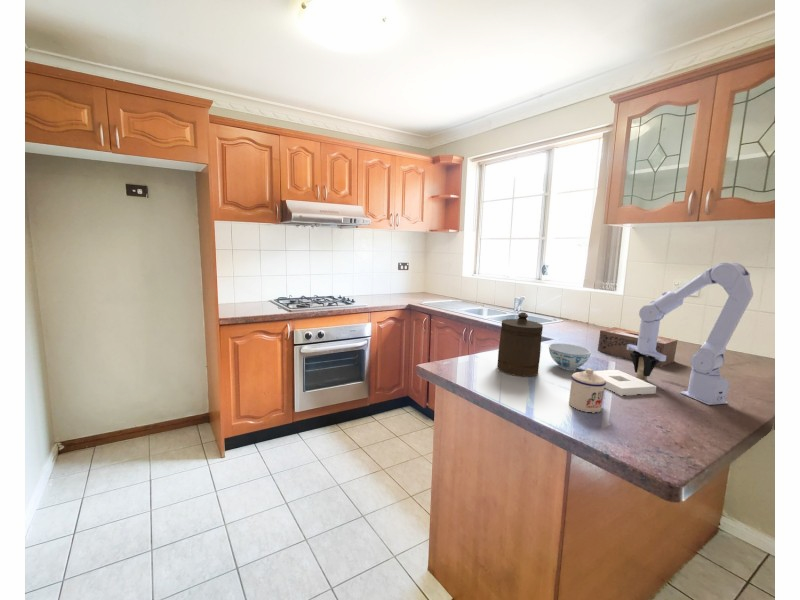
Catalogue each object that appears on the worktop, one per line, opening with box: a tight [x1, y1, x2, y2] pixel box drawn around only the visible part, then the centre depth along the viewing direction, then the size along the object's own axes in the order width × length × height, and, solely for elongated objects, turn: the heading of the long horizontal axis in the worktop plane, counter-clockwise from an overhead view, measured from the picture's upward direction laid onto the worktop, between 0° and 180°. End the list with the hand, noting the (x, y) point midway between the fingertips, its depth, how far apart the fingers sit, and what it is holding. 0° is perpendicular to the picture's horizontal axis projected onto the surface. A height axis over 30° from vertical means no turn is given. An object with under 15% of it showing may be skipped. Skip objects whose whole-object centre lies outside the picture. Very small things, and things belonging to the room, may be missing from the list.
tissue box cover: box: [597, 327, 679, 368], centre depth 167 cm, size 26×14×10 cm, turn 36°
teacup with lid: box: [568, 367, 606, 414], centre depth 110 cm, size 12×9×12 cm
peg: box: [635, 357, 648, 382], centre depth 136 cm, size 3×3×8 cm
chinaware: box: [548, 342, 592, 371], centre depth 146 cm, size 15×15×8 cm
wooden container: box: [497, 312, 544, 377], centre depth 139 cm, size 15×15×22 cm
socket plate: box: [593, 369, 657, 397], centre depth 129 cm, size 16×14×2 cm
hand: (642, 374), depth 137 cm, fingers closed on peg, 3 cm apart
